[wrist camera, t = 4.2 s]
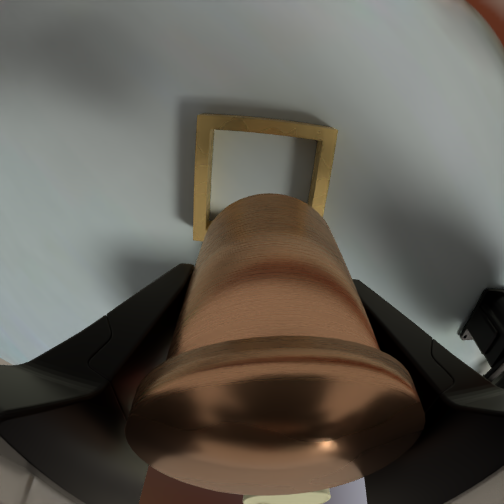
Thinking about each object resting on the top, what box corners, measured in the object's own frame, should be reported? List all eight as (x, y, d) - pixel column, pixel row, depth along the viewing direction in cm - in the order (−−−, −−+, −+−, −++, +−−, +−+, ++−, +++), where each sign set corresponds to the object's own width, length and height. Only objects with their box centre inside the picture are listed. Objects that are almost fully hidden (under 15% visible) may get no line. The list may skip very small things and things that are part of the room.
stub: (360, 194, 9) (483, 367, 3) (325, 319, 12) (358, 489, 6) (193, 175, 9) (84, 350, 3) (192, 308, 12) (152, 482, 6)
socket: (332, 127, 18) (337, 130, 16) (312, 241, 22) (315, 252, 20) (202, 113, 18) (197, 115, 16) (197, 229, 21) (193, 240, 20)
